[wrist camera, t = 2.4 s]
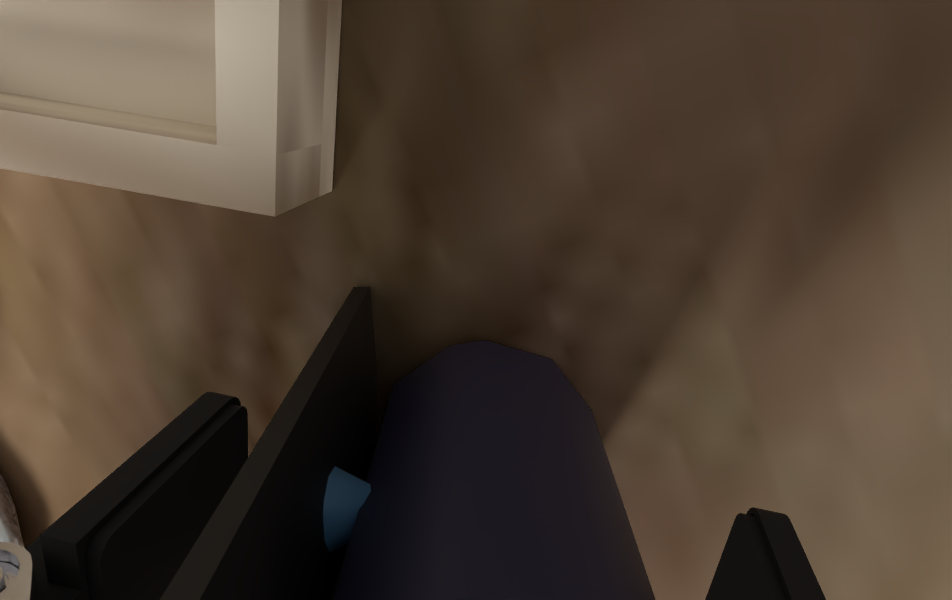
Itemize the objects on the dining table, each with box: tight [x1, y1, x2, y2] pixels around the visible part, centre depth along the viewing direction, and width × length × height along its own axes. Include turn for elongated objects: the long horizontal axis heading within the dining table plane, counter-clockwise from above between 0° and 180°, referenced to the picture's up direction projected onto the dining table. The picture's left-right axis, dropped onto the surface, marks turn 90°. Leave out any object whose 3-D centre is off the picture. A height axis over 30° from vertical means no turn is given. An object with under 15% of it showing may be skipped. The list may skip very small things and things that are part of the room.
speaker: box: [160, 287, 655, 600], centre depth 12 cm, size 8×6×10 cm
